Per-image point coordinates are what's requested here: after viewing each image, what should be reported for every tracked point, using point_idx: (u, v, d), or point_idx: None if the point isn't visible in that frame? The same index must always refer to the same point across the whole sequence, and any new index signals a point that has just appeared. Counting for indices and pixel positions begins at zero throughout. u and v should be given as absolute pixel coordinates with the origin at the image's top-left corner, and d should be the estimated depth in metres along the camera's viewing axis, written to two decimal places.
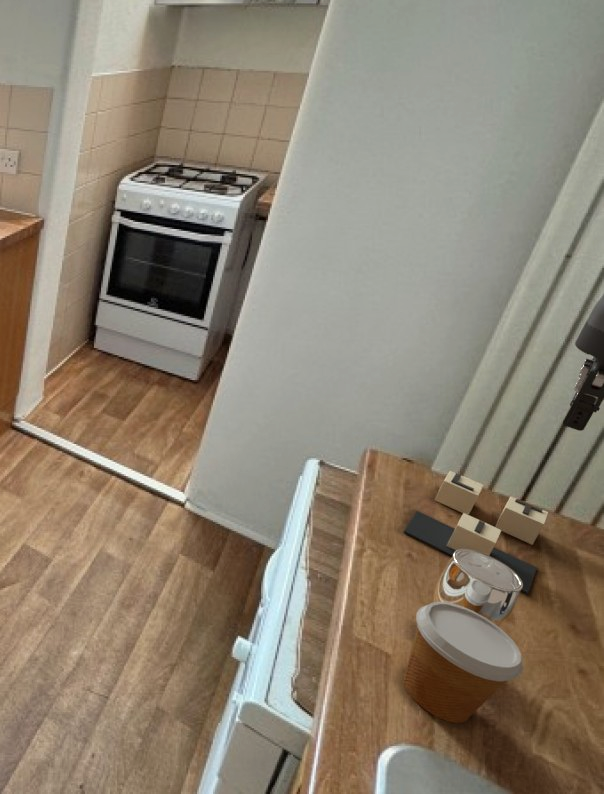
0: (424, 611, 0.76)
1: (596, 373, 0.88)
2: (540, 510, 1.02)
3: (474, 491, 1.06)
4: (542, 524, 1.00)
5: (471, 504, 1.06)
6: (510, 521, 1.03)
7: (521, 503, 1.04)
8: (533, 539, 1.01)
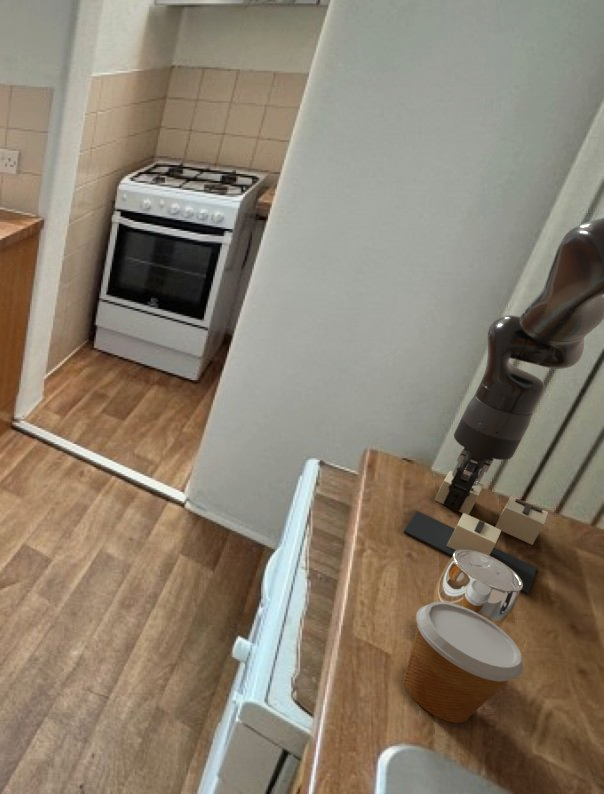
0: (424, 611, 0.76)
1: (463, 470, 1.03)
2: (540, 510, 1.02)
3: (474, 491, 1.06)
4: (542, 524, 1.00)
5: (471, 504, 1.06)
6: (510, 521, 1.03)
7: (521, 503, 1.04)
8: (533, 539, 1.01)
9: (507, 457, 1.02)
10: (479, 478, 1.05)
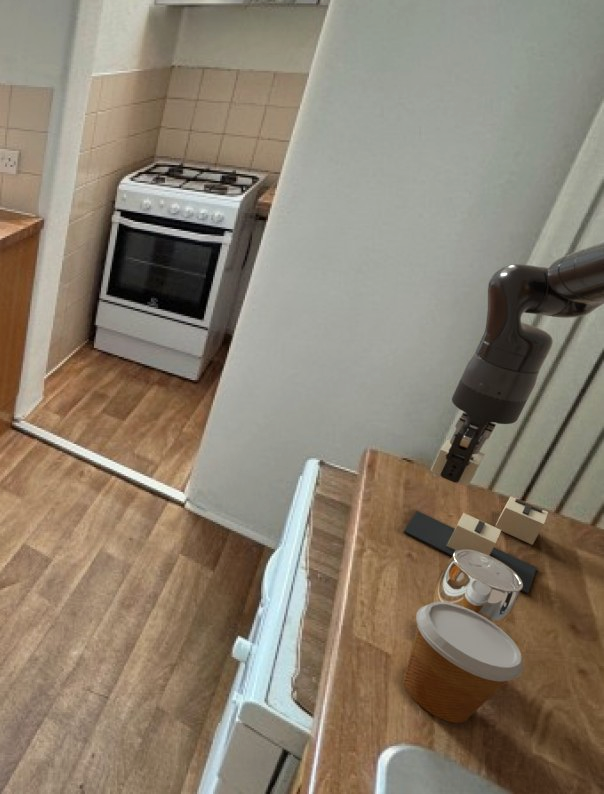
0: (424, 611, 0.76)
1: (462, 436, 0.93)
2: (540, 510, 1.02)
3: (474, 460, 0.96)
4: (542, 524, 1.00)
5: (471, 475, 0.96)
6: (510, 521, 1.03)
7: (521, 503, 1.04)
8: (533, 539, 1.01)
9: (511, 421, 0.92)
10: (480, 445, 0.95)
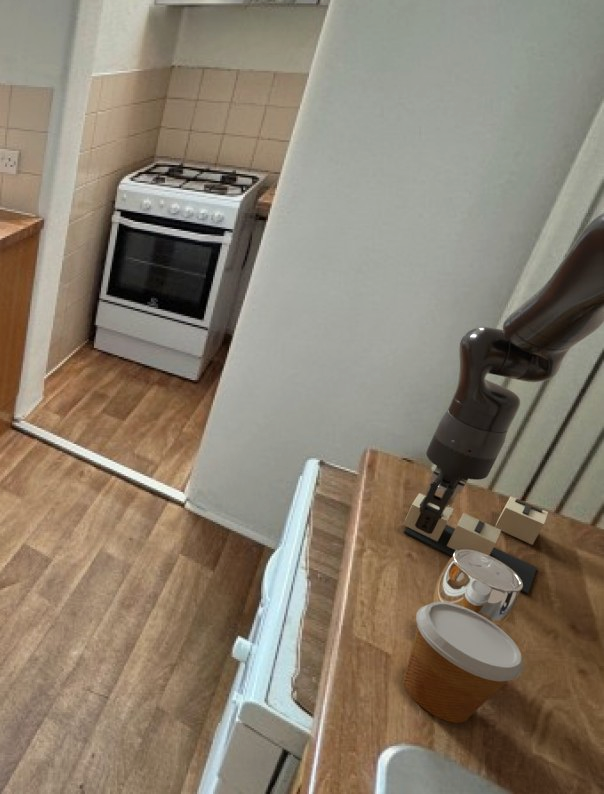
0: (424, 611, 0.76)
1: (438, 485, 0.96)
2: (540, 510, 1.02)
3: (443, 516, 1.00)
4: (542, 524, 1.00)
5: (440, 530, 1.00)
6: (510, 521, 1.03)
7: (521, 503, 1.04)
8: (533, 539, 1.01)
9: (481, 477, 0.95)
10: (453, 498, 0.98)
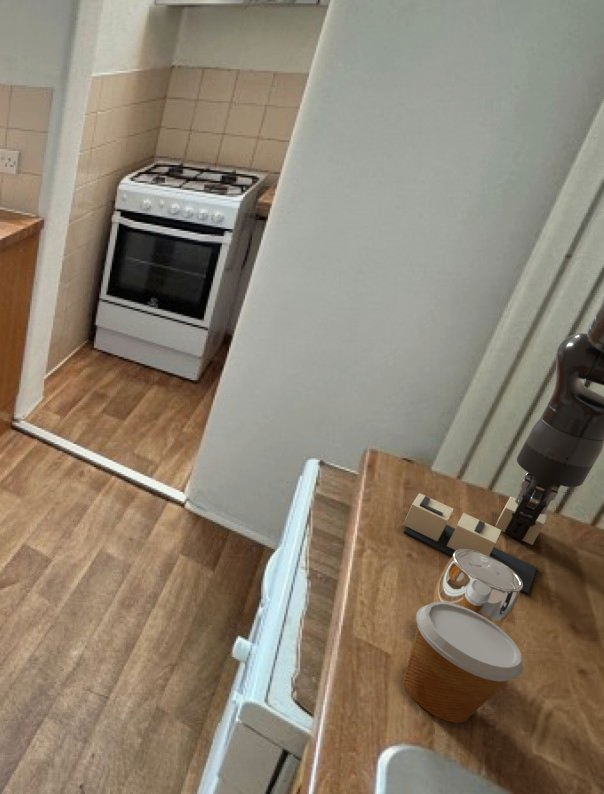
0: (424, 611, 0.76)
1: (530, 498, 0.97)
2: None
3: (443, 516, 1.00)
4: (542, 524, 1.00)
5: (440, 530, 1.00)
6: None
7: None
8: (533, 539, 1.01)
9: (577, 484, 0.96)
10: (545, 506, 0.99)
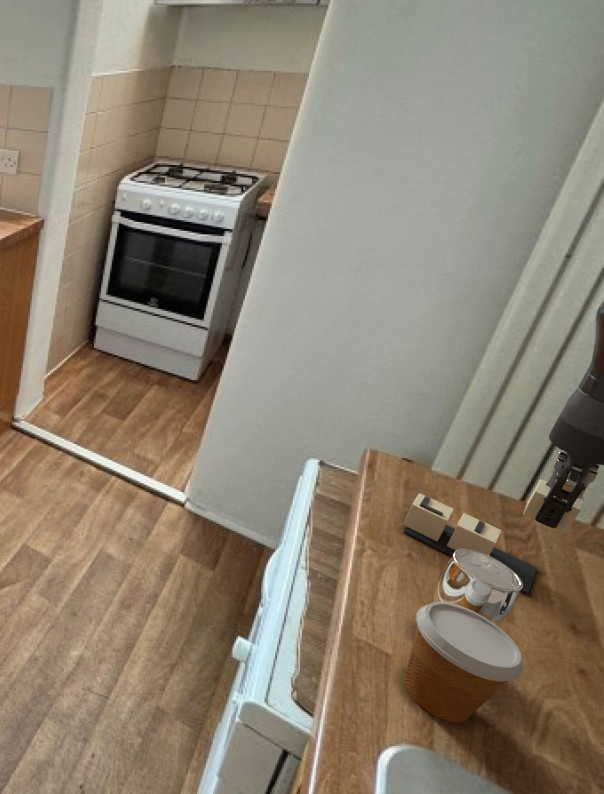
0: (424, 611, 0.76)
1: (565, 479, 0.85)
2: None
3: (443, 516, 1.00)
4: (578, 510, 0.87)
5: (440, 530, 1.00)
6: (540, 507, 0.90)
7: None
8: (568, 527, 0.89)
9: None
10: None
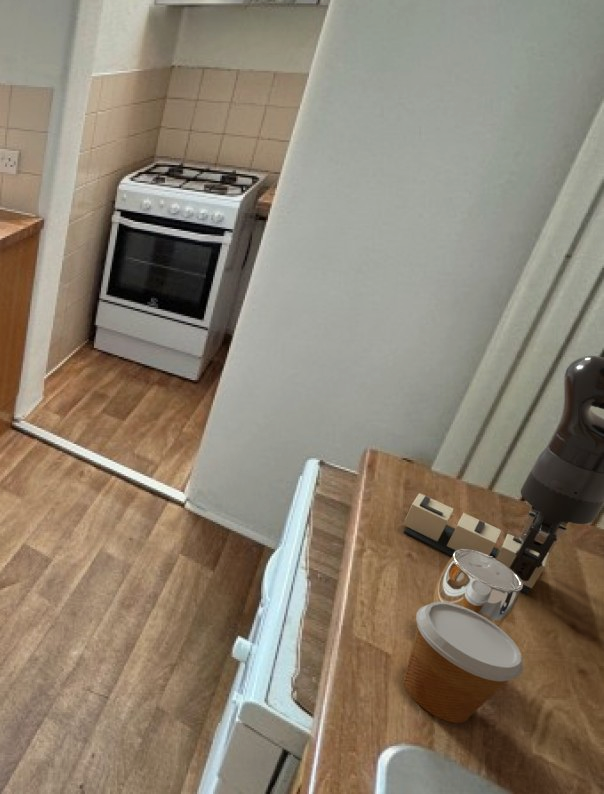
0: (424, 611, 0.76)
1: (538, 529, 0.88)
2: None
3: (443, 516, 1.00)
4: (542, 566, 0.91)
5: (440, 530, 1.00)
6: (507, 562, 0.94)
7: (519, 542, 0.95)
8: (533, 582, 0.92)
9: (588, 521, 0.87)
10: (553, 543, 0.89)
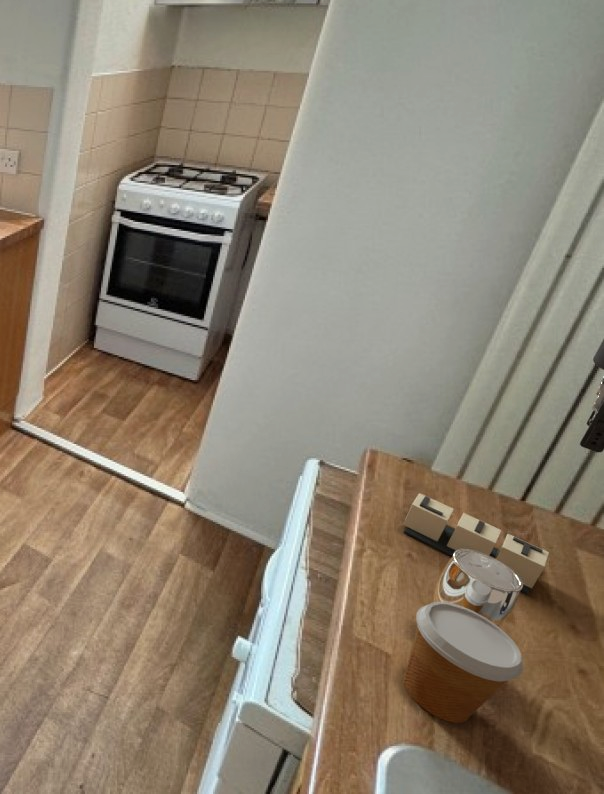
0: (424, 611, 0.76)
1: None
2: (540, 550, 0.94)
3: (443, 516, 1.00)
4: (542, 566, 0.91)
5: (440, 530, 1.00)
6: (507, 562, 0.94)
7: (519, 542, 0.95)
8: (533, 582, 0.92)
9: None
10: None
